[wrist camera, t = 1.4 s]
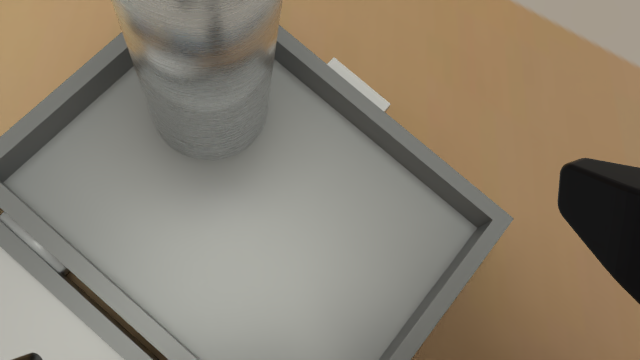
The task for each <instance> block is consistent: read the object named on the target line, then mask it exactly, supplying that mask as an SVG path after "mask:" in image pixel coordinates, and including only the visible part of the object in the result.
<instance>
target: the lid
mask: <svg viewBox="0 0 640 360" xmlns="http://www.w3.org/2000/svg"><path fill="white" fill-rule="evenodd" d="M69 272H70V270H69V269H68V268H66V267H65V266H64V265H63V264H62V263H61V262H60V261H59V260H58V259H56V258H55V257H54V256H53V255H52V254H51V253H50V252H49V251H48V250H46V249H45V248H44V247H43V246H42V245H41V244H40V243H39V242H38V241H36V240H35V239H34V238H33V237H32V236H31V235H30V234H29V233H28V232H27V231H25V230H24V229H23V228H22V227H21V226H20V225H19V224H18V223H17V222H15V221H14V220H13V219H12V218H11V217H10V216H9V215H8V214H7V213H5V212H3V213H2V214H1V215H0V360H12V359H15V358H17V357H20V356H23V355H26V354H29V353H32V352H33V353H37V354H38V355H40V356H41V358H42V359H43V360H159V359H158V358H157V357H156V356H154V355H153V354H152V353H151V352H150V351H149V350H148V349H147V348H146V347H144V346H143V345H142V344H141V343H140V342H139V341H138V340H137V339H136V338H135V337H133V336H132V335H131V334H130V333H129V332H128V331H127V330H126V329H125V328H123V327H122V326H121V325H120V324H119V323H118V322H117V321H116V320H115V319H113V318H112V317H111V316H110V315H109V314H108V313H107V312H106V311H105V310H104V309H102V308H101V307H100V306H99V305H98V304H97V303H96V302H95V301H94V300H92V299H91V298H90V297H89V296H88V295H87V294H86V293H85V292H84V291H83V290H81V289H80V288H79V287H78V286H77V285H76V284H75V283H74V282H73V281H71V280H70V279H69V278H68V277H67V276H66V274H67V273H69Z"/></svg>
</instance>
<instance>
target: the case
mask: <svg viewBox="0 0 640 360" xmlns="http://www.w3.org/2000/svg"><path fill="white" fill-rule="evenodd" d="M389 106H390V103H389V102H388V101H386V100H385V99H384V98H383V97H381V96H380V95H379V94H378V93H377V92H375V91H374V90H373V89H372V88H371V87H369V86H368V85H367V84H366V83H364V82H363V81H362V80H361V79H360V78H358V77H357V76H356V75H355V74H354V73H352V72H351V71H350V70H349V69H347V68H346V67H345V66H344V65H343V64H341V63H340V62H339V61H338V60H337V59H335V58H333V59H332V60H331V61H330V62H329V63H328V64H326V63H325V62H323V61H322V60H321V59H320V58H318V57H317V56H316V55H315V54H314V53H312V52H311V51H310V50H309V49H308V48H306V47H305V46H304V45H303V44H302V43H300V42H299V41H298V40H297V39H295V38H294V37H293V36H292V35H291V34H289V33H288V32H287V31H286V30H285V29H283V28H282V27H281V26H280V25H279V27H278V35H277V42H276V49H275V56H274V64H273V71H272V78H271V85H270V93H269V100H268V107H267V114H266V120H265V123H264V126H263V128H262V130H261V132H260V134H259V135H258V137H257V138H256V139H255V140H254V142H253V143H252V144H251V145H249V146H248V147H247V148H246V149H244V150H243V151H241V152H240V153H238V154H236V155H233V156H231V157H228V158H224V159H219V160H200V159H195V158H191V157H188V156H186V155H183V154H181V153H179V152H178V151H176V150H174V149H173V148H172V147H170V146H169V145H168V144H167V143H166V142H165V141H164V140H163V138H162V137H161V136H160V135H159V133H158V131H157V129H156V127H155V125H154V122H153V119H152V116H151V114H150V111H149V108H148V105H147V102H146V99H145V96H144V93H143V91H142V88H141V85H140V82H139V79H138V76H137V73H136V70H135V67H134V65H133V62H132V59H131V56H130V53H129V50H128V47H127V44H126V41H125V39H124V36H123V33H122V32H121V33H120V34H119V35H118V36H117V37H116V38H114V39H113V40H112V41H111V42H110V43H109V44H108V45H106V46H105V47H104V48H103V49H102V50H101V51H99V52H98V53H97V54H96V55H95V56H94V57H92V58H91V59H90V60H89V61H88V62H87V63H86V64H84V65H83V66H82V67H81V68H80V69H79V70H77V71H76V72H75V73H74V74H73V75H72V76H70V77H69V78H68V79H67V80H66V81H65V82H63V83H62V84H61V85H60V86H59V87H58V88H57V89H55V90H54V91H53V92H52V93H51V94H50V95H48V96H47V97H46V98H45V99H44V100H43V101H41V102H40V103H39V104H38V105H37V106H36V107H34V108H33V109H32V110H31V111H30V112H29V113H28V114H26V115H25V116H24V117H23V118H22V119H21V120H19V121H18V122H17V123H16V124H15V125H14V126H12V127H11V128H10V129H9V130H8V131H7V132H5V133H4V134H3V135H2V136H1V137H0V208H1V209H2V210H3V211H4V212H5V213H7V214H8V215H9V216H10V217H11V218H12V219H13V220H14V221H15V222H17V223H18V224H19V225H20V226H21V227H22V228H23V229H24V230H25V231H27V232H28V233H29V234H30V235H31V236H32V237H33V238H34V239H35V240H36V241H38V242H39V243H40V244H41V245H42V246H43V247H44V248H45V249H46V250H48V251H49V252H50V253H51V254H52V255H53V256H54V257H55V258H56V259H58V260H59V261H60V262H61V263H62V264H63V265H64V266H65V267H66V268H68V269H69V270H70V271H71V272H72V273H73V274H74V275H75V276H76V277H77V278H79V279H80V280H81V281H82V282H83V283H84V284H85V285H86V286H87V287H89V288H90V289H91V290H92V291H93V292H94V293H95V294H96V295H97V296H99V297H100V298H101V299H102V300H103V301H104V302H105V303H106V304H107V305H108V306H110V307H111V308H112V309H113V310H114V311H115V312H116V313H117V314H118V315H120V316H121V317H122V318H123V319H124V320H125V321H126V322H127V323H128V324H130V325H131V326H132V327H133V328H134V329H135V330H136V331H137V332H138V333H140V334H141V335H142V336H143V337H144V338H145V339H146V340H147V341H148V342H149V343H151V344H152V345H153V346H154V347H155V348H156V349H157V350H158V351H159V352H161V353H162V354H163V355H164V356H165V357H166V358H167V359H168V360H411V359H412V357H413V356H414V355H415V353H416V352H417V350H418V349H419V348H420V346H421V345H422V344H423V342H424V341H425V339H426V338H427V337H428V335H429V334H430V333H431V331H432V330H433V329H434V327H435V326H436V324H437V323H438V322H439V320H440V319H441V318H442V316H443V315H444V313H445V312H446V311H447V309H448V308H449V307H450V305H451V304H452V302H453V301H454V300H455V298H456V297H457V296H458V294H459V293H460V292H461V290H462V289H463V287H464V286H465V285H466V283H467V282H468V281H469V279H470V278H471V276H472V275H473V274H474V272H475V271H476V270H477V268H478V267H479V266H480V264H481V263H482V261H483V260H484V259H485V257H486V256H487V255H488V253H489V252H490V250H491V249H492V248H493V246H494V245H495V244H496V242H497V241H498V239H499V238H500V237H501V235H502V234H503V233H504V231H505V230H506V229H507V227H508V226H509V224H510V223H511V222H512V220H513V218H512V217H511V216H510V215H509V214H507V213H506V212H505V211H504V210H503V209H501V208H500V207H499V206H498V205H496V204H495V203H494V202H493V201H492V200H490V199H489V198H488V197H487V196H486V195H484V194H483V193H482V192H481V191H480V190H478V189H477V188H476V187H475V186H473V185H472V184H471V183H470V182H469V181H467V180H466V179H465V178H464V177H463V176H461V175H460V174H459V173H458V172H457V171H455V170H454V169H453V168H452V167H450V166H449V165H448V164H447V163H446V162H444V161H443V160H442V159H441V158H440V157H438V156H437V155H436V154H435V153H434V152H432V151H431V150H430V149H429V148H427V147H426V146H425V145H424V144H423V143H421V142H420V141H419V140H418V139H417V138H415V137H414V136H413V135H412V134H410V133H409V132H408V131H407V130H406V129H404V128H403V127H402V126H401V125H400V124H398V123H397V122H396V121H395V120H394V119H392V118H391V117H390V116H389V115H387V114H386V113H385V112H386V111H387V109H388V108H389Z"/></svg>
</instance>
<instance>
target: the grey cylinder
mask: <svg viewBox="0 0 640 360" xmlns="http://www.w3.org/2000/svg"><path fill="white" fill-rule="evenodd" d="M111 1H112V4H113V7H114V10H115V13H116V16H117V18H118V21H119V24H120V27H121V30H122V33H123V36H124V39H125V41H126V44H127V47H128V50H129V53H130V56H131V59H132V62H133V65H134V67H135V70H136V73H137V76H138V79H139V82H140V85H141V88H142V91H143V93H144V96H145V99H146V102H147V105H148V108H149V111H150V114H151V116H152V119H153V122H154V125H155V127H156V129H157V131H158V133H159V135H160V136H161V137H162V138H163V140H164V141H165V142H166V143H167V144H168V145H169V146H170V147H172V148H173V149H174V150H176V151H178V152H179V153H181V154H183V155H186V156H188V157H191V158H195V159H200V160H219V159H224V158H228V157H231V156H233V155H236V154H238V153H240V152H241V151H243V150H244V149H246V148H247V147H248V146H249V145H251V144H252V143H253V142H254V140H255V139H256V138H257V137H258V135H259V134H260V132H261V130H262V128H263V126H264V123H265V120H266V114H267V107H268V100H269V93H270V85H271V78H272V71H273V64H274V56H275V49H276V42H277V35H278V27H279V20H280V13H281V6H282V0H111Z"/></svg>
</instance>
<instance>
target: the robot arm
mask: <svg viewBox="0 0 640 360" xmlns="http://www.w3.org/2000/svg"><path fill="white" fill-rule="evenodd" d="M558 208H559V210H560V213H561V214H562V216H563V217H564V219H565V220H566V221H567V222H568V223H569V225H570V226H571V227H572V228H573V230H574V231H575V232H576V233H577V234H578V236H579V237H580V238H581V239H582V240H583V242H584V243H585V244H586V245H587V247H588V248H589V249H590V250H591V251H592V253H593V254H594V255H595V256H596V258H597V259H598V260H599V261H600V262H601V264H602V265H603V266H604V267H605V268H606V270H607V271H608V272H609V273H610V274H611V275H612V276H613V278H614V279H615V280H616V281H617V282H618V283H619V284H620V285H621V286H622V287H623V288H624V289H625V290H626V291H627V292H628V293H629V294H630V295H631V296H632V297H633V298H634V299H635V300H636V301H637V302H638V303H639V304H640V168H638V167H632V166H627V165H622V164H616V163H611V162H605V161H600V160H594V159H589V158H581V159H578V160H575V161H573V162H570V163H567V164H565V165H564V166H563V167H562V169H561V171H560V181H559V192H558ZM12 360H43V359H42V358H41V356H40V355H38V354H37V353H33V352H32V353H29V354H26V355H23V356H20V357H17V358H15V359H12Z"/></svg>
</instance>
